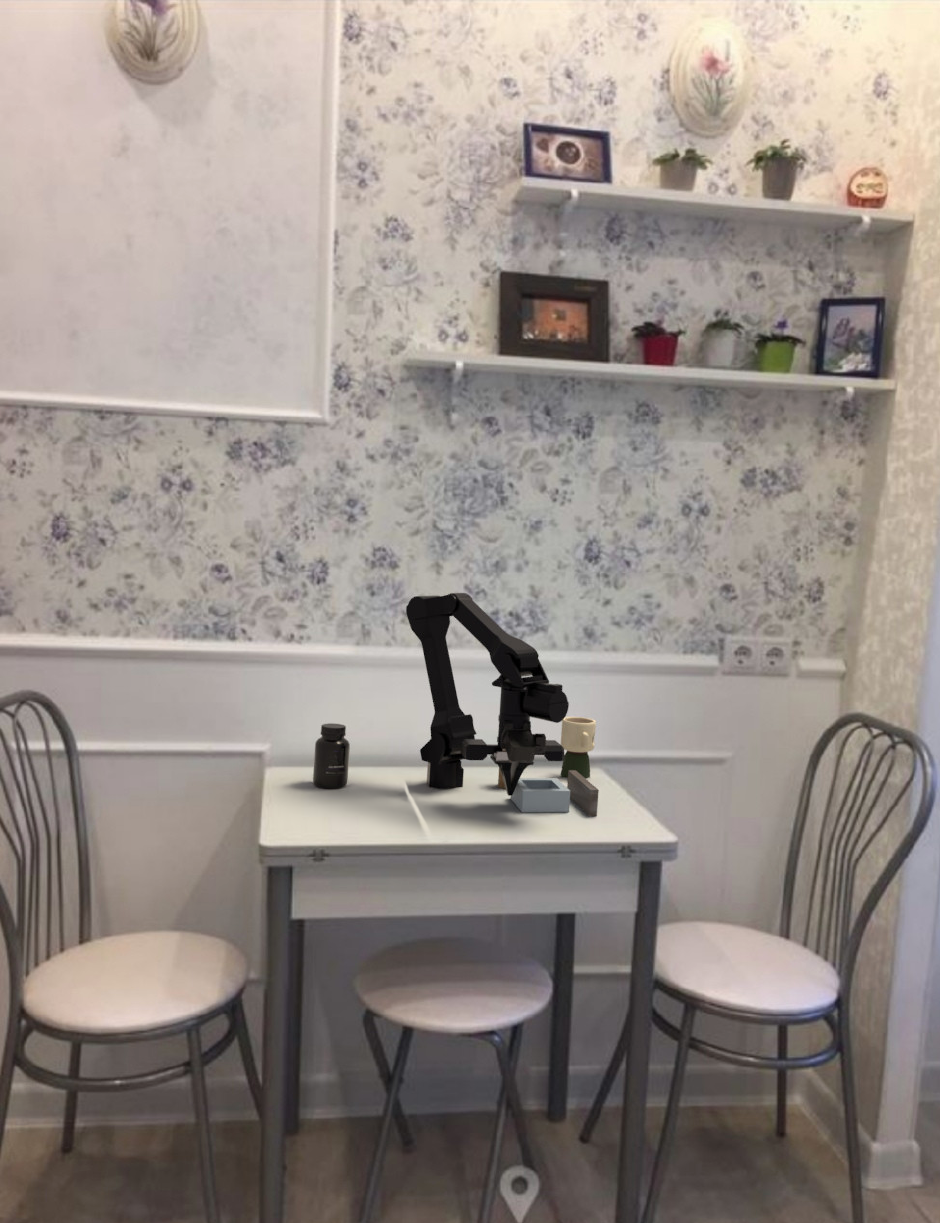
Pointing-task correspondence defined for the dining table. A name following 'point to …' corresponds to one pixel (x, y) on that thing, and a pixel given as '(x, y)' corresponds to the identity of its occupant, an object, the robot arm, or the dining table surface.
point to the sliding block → (541, 795)
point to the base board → (583, 793)
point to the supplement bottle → (331, 757)
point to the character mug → (577, 744)
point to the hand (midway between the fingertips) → (509, 795)
